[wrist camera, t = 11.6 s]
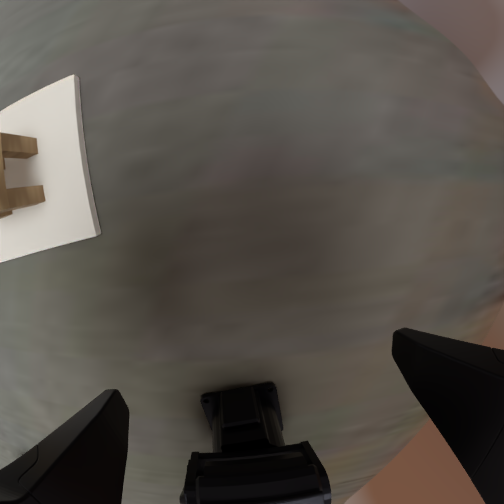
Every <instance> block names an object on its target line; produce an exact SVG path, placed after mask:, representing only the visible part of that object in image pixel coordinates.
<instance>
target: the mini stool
mask: <svg viewBox="0 0 504 504" xmlns="http://www.w3.org/2000/svg"><path fill="white" fill-rule="evenodd" d="M36 154H38V147H37V138H33V137H27V136H21V135H14V134H8V133H1V132H0V219H1V218H4V217H7V216H9V215H11V214H13V213H12V210H16V209H20V208H25V207H30V206H34V205H37V204H39V203H42V202H45V201H46V200H45V195H44V189H43V185H38V186H28V187H18V188H9V189H6V183H5V175H4V170H5V169H6V168H5V159H4V158H20V159H27V158H29V157H32V156H34V155H36Z"/></svg>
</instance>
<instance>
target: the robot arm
mask: <svg viewBox="0 0 504 504" xmlns="http://www.w3.org/2000/svg"><path fill="white" fill-rule="evenodd" d="M392 356H393V359H394V360H395V362H396V364H397V366H398V368H399V369H400V371H401V373H402V375H403V377H404V378H405V380H406V382H407V384H408V386H409V388H410V389H411V391H412V392H413V394H414V395H415V397H416V398H417V400H418V401H419V402H420V404H421V405H422V407H423V408H424V410H425V411H426V412H427V414H428V415H429V417H430V418H431V420H432V421H433V423H434V424H435V425H436V427H437V428H438V430H439V431H440V433H441V434H442V436H443V437H444V438H445V440H446V442H447V443H448V445H449V446H450V448H451V449H452V451H453V452H454V454H455V455H456V457H457V458H458V460H459V461H460V463H461V465H462V466H463V468H464V469H465V471H466V472H467V474H468V476H469V477H470V479H471V481H472V482H473V484H474V485H475V487H476V489H477V490H478V492H479V494H480V495H481V497H482V498H483V500H484V502H485V504H504V350H501V349H496V348H492V349H491V348H490V347H487V346H482V345H478V344H473V343H468V342H464V341H460V340H455V339H451V338H446V337H442V336H438V335H434V334H429V333H425V332H421V331H417V330H413V329H409V328H402V329H399V330H396V331H395V332H394V333H393V341H392ZM268 388H271V389H268ZM204 399H208V400H204ZM201 404H202V407H203V409H204V412H205V414H206V417H207V419H208V422H209V424H210V427H211V429H212V432H213V453H199V452H192V454H191V460H189V462H188V465H187V474H186V479H185V485H184V488H183V490H182V493H181V495H180V504H331V488H330V483H329V479H328V476H327V473H326V471H325V469H324V467H323V465H322V464H321V462H320V460H319V459H318V457H317V455H316V454H315V452H314V450H313V449H312V447H311V445H310V444H309V442H308V441H303V442H300V443H298V444H292V445H286V446H285V443H284V439H283V436H282V432H281V431H282V430H283V424H282V418H281V413H280V407H279V401H278V395H277V390H276V386H275V384H274V383H265V384H260V385H255V386H250V387H245V388H239V389H234V390H228V391H222V392H216V393H209V394H204V395H202V396H201ZM128 430H129V409H128V407H127V405H126V403H125V401H124V399H123V397H122V395H121V393H120V392H119V391H118V390H117V389H108V390H105V391H104V392H103V393H101V394H100V395H99V396H98V397H96V398H95V399H94V400H93V401H91V402H90V403H89V404H88V405H86V406H85V407H84V408H82V409H81V410H80V411H79V412H77V413H76V414H75V415H74V416H72V417H71V418H70V419H69V420H67V421H66V422H65V423H64V424H62V425H61V426H60V427H58V428H57V429H56V430H55V431H53V432H52V433H51V434H50V435H48V436H47V437H46V438H44V439H43V440H42V441H41V442H39V443H38V445H35V446H34V447H33V448H32V449H30V450H29V451H28V452H26V453H25V454H24V455H22V456H21V457H19V458H18V459H16V460H15V461H13V462H12V463H10V464H9V465H7V466H6V467H4V468H2V469H1V470H0V504H121V500H122V491H123V483H124V475H125V467H126V460H127V452H128Z"/></svg>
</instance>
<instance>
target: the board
mask: <svg viewBox="0 0 504 504" xmlns="http://www.w3.org/2000/svg"><path fill="white" fill-rule="evenodd" d="M0 132H1V133H8V134H14V135H21V136H27V137H33V138H37V147H38V154H36V155H34V156H32V157H29V158H27V159H20V158H4V159H5V168H6V169H5V170H4V175H5V183H6V189H9V188H18V187H28V186H38V185H43V189H44V195H45V200H46V201H45V202H42V203H39V204H37V205H34V206H30V207H25V208H20V209H16V210H12V213H13V214H11V215H9V216H7V217H4V218H1V219H0V263H1V262H4V261H7V260H11V259H14V258H18V257H21V256H24V255H28V254H31V253H35V252H38V251H42V250H46V249H49V248H53V247H57V246H60V245H64V244H68V243H72V242H76V241H80V240H83V239H87V238H91V237H95V236H98V235H100V234H101V229H100V225H99V221H98V216H97V211H96V207H95V202H94V197H93V192H92V186H91V181H90V175H89V169H88V162H87V155H86V148H85V140H84V132H83V123H82V112H81V99H80V81H79V77H77V76H76V75H74V74H73V75H71V76H69V77H66V78H64V79H62V80H59V81H57V82H55V83H53V84H51V85H49V86H46V87H44V88H42V89H40V90H38V91H36V92H34V93H32V94H30V95H28V96H27V97H25V98H23V99H21V100H19V101H17V102H16V103H14V104H12V105H10V106H8V107H7V108H5V109H3V110H2V111H0Z"/></svg>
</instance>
